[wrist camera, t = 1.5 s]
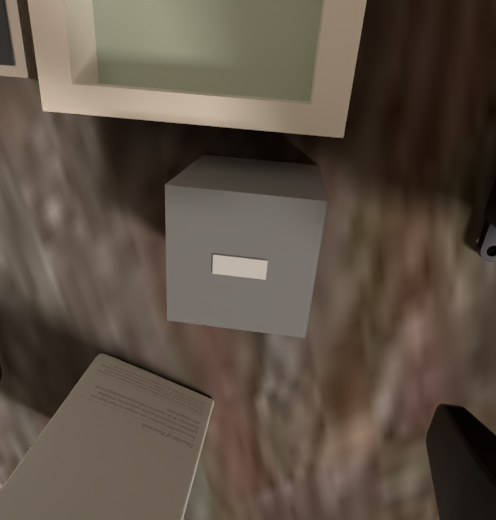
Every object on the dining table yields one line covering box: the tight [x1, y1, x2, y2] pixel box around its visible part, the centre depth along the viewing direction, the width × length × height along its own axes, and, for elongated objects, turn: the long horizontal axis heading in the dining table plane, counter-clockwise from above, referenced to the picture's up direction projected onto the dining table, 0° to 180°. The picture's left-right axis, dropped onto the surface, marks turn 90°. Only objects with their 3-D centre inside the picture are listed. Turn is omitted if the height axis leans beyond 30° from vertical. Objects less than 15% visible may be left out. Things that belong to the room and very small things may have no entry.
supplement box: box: [0, 354, 214, 520], centre depth 18 cm, size 7×7×13 cm
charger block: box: [165, 155, 328, 338], centre depth 15 cm, size 5×5×6 cm
